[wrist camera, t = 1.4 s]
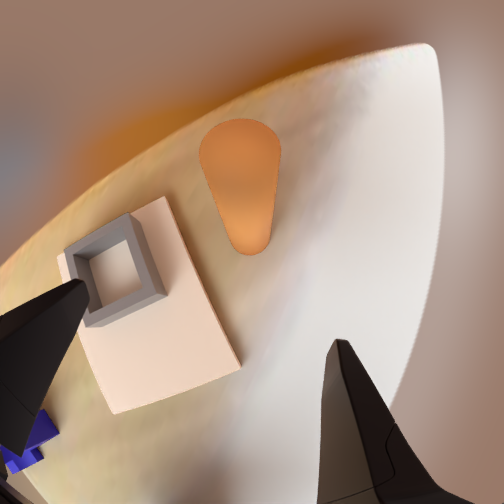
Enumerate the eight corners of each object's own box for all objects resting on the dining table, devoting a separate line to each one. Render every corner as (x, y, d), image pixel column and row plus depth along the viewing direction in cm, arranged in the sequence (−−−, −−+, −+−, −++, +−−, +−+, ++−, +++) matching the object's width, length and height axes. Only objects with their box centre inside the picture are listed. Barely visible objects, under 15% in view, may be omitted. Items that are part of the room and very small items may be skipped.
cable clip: (26, 467, 18) (-2, 481, 12) (7, 437, 18) (-23, 447, 13) (68, 444, 19) (35, 463, 13) (44, 408, 20) (8, 420, 14)
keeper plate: (241, 366, 21) (238, 376, 17) (118, 411, 20) (99, 423, 16) (167, 200, 24) (154, 182, 20) (62, 258, 23) (40, 251, 19)
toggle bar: (276, 244, 23) (295, 166, 10) (240, 262, 22) (217, 200, 10) (259, 210, 23) (258, 109, 11) (223, 226, 23) (188, 137, 11)
